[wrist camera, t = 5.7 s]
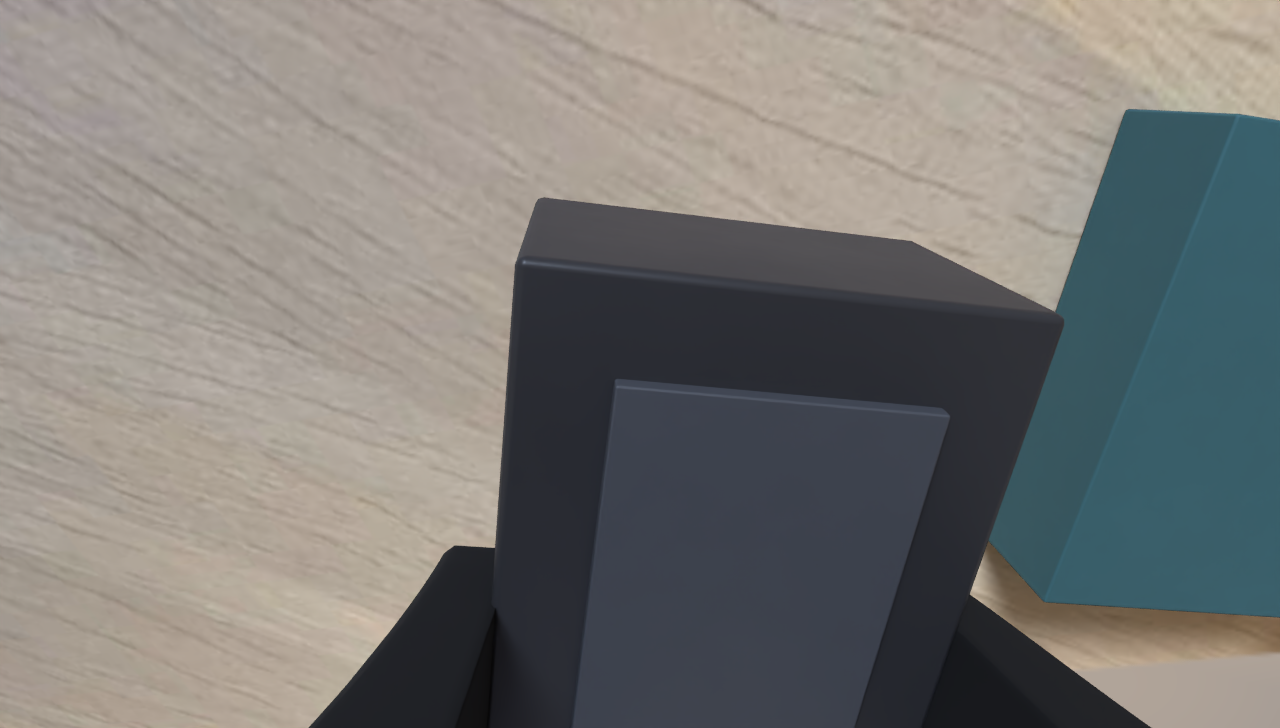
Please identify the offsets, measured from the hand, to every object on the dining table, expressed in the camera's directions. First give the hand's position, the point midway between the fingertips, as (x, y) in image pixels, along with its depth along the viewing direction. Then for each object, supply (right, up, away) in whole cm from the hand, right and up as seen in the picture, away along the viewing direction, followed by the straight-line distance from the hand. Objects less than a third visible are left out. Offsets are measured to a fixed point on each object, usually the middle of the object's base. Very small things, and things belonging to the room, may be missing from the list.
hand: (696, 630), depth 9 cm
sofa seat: (+13, +3, +10) cm, 17 cm away
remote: (0, +1, +2) cm, 2 cm away
